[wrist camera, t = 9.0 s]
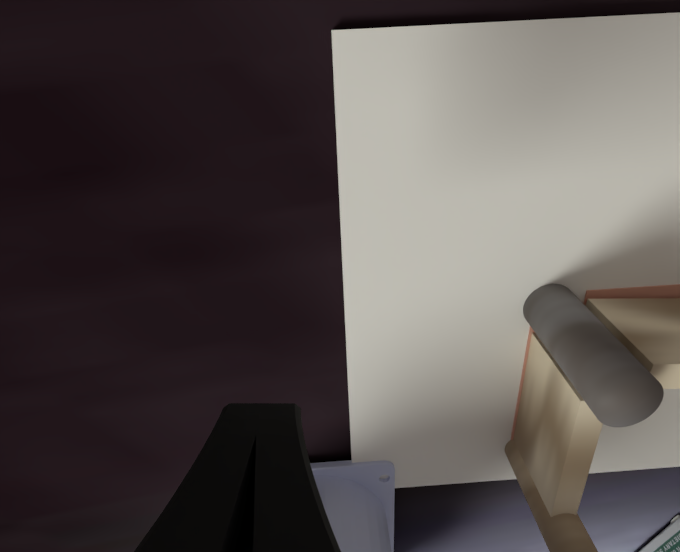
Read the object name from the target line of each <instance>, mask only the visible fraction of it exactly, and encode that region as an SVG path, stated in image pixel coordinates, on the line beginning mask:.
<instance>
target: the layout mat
mask: <svg viewBox="0 0 680 552" xmlns="http://www.w3.org/2000/svg"><path fill="white" fill-rule="evenodd" d="M331 35H332V56H333V77H334V99H335V120H336V141H337V162H338V184H339V205H340V226H341V247H342V269H343V290H344V311H345V332H346V354H347V375H348V396H349V417H350V439H351V460H352V463H356V462H370V461H383V460H385V461H390V462H392V463H393V464H394V468H395V488H405V487H418V486H431V485H444V484H457V483H470V482H484V481H497V480H510V479H517V478H516V476H515V474H514V471H513V469H512V467H511V465H510V462H509V460H508V458H507V456H506V454H505V446H506V444H507V443H508V442H509V441H510V440H513V438H514V432H515V426H516V421H517V415H518V409H519V403H520V398H521V392H522V386H523V381H524V375H525V369H526V364H527V358H528V352H529V347H530V341H531V335H532V333H535V332H534V330H533V329H532V328H531V326H530V325H529V323H528V322H527V321H526V319H525V317H524V315H523V306H524V303H525V301H526V299H527V298H528V296H529V295H530V294H531V293H532V292H533V291H534V290H536V289H537V288H539V287H541V286H544V285H547V284H561V285H564V286H566V287H567V288H569V289H570V290H571V291H572V292H573V293H574V294H575V295H576V297H577V298H578V299H579V300H580V301H581V302H582V303H583V304H584V305H586V302H587V299H618V298H680V12H678V13H658V14H638V15H619V16H599V17H579V18H559V19H540V20H520V21H500V22H481V23H461V24H441V25H422V26H402V27H382V28H362V29H343V30H331ZM663 391H664V395H663V399H662V402H661V404H660V406H659V407H658V408H657V410H656V411H655V412H654V413H653V414H652V415H650V416H649V417H648V418H646V419H645V420H643V421H641V422H639V423H637V424H634V425H631V426H627V427H610V426H607V425H604V424H603V425H602V429H601V432H600V436H599V439H598V443H597V446H596V449H595V453H594V456H593V460H592V463H591V466H590V470H589V473H602V472H615V471H628V470H641V469H654V468H667V467H680V389H663ZM589 473H588V474H589ZM388 477H389V476H388V475H382V476H380V477H379V478H381V479H385V478H388Z"/></svg>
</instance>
